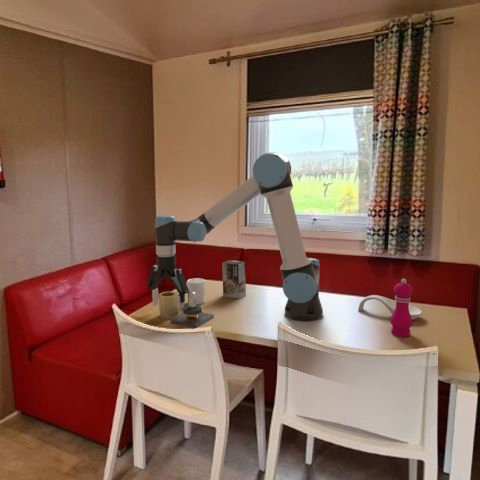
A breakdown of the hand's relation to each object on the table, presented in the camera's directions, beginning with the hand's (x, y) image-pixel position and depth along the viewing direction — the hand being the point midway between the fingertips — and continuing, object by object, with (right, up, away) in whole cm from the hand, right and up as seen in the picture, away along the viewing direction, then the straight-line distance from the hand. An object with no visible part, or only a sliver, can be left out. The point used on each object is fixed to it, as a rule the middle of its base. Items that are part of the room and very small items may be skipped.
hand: (168, 307), depth 161 cm
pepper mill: (+86, -6, -19) cm, 88 cm away
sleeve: (0, -3, 0) cm, 3 cm away
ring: (+10, -1, -5) cm, 11 cm away
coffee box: (+26, +1, +25) cm, 37 cm away
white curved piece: (+88, -3, -1) cm, 88 cm away
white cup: (+10, -1, +17) cm, 19 cm away
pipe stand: (+10, -4, -4) cm, 12 cm away
